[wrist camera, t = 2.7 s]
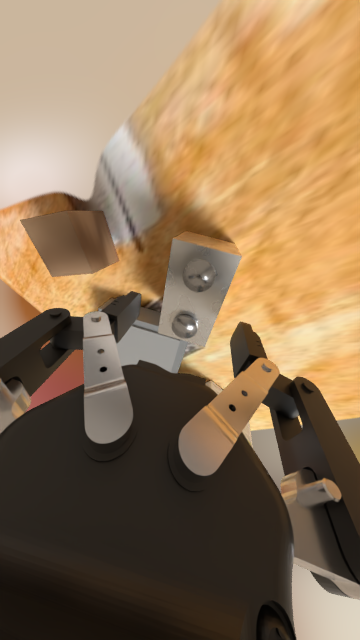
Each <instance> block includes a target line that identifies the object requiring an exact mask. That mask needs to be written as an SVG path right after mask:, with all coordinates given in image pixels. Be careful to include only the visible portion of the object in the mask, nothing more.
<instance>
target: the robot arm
mask: <svg viewBox="0 0 360 640" xmlns="http://www.w3.org/2000/svg"><path fill="white" fill-rule="evenodd" d="M140 306H141V294H140V293H136V292H133V291H131V292H130V293H128V294H127V295H126V296H124V295H123V296H120V297H117V298H116V299H115V300H114V301H113V302H111V304H109V305H108V306H106V307H105V308H104V309H103V310H102V311H100V312H99V311H95V312H90V313H87V314H86V315H85V316H84V317H73V316H70V312H69V311H68V310H67V309H63V308H53V309H49V310H46V311H44V312H43V313H41V314H40V315H38V316H36V317H35V318H33V319H32V320H30V321H28V322H27V323H25V324H23V325H22V326H20V327H18V328H17V329H15V330H13V331H12V332H10V333H9V334H7V335H5V336H4V337H2V338H0V640H296V634H295V628H294V622H293V609H292V584H291V583H292V567H293V564H296V565H298V566H300V567H303V568H305V569H307V570H310V572H311V573H312V575H313V577H314V578H315V579H316V581H317V582H318V583H319V584H320V585H321V586H322V587H323V588H324V589H325V590H326V591H328V592H329V593H332V594H336V595H340V596H345V597H349V598H354V599H358V600H360V464H359V462H358V460H357V458H356V456H355V454H354V453H353V451H352V449H351V447H350V445H349V444H348V442H347V440H346V439H345V436H344V434H343V432H342V431H341V429H340V427H339V425H338V423H337V421H336V420H335V418H334V416H333V414H332V412H331V410H330V409H329V407H328V405H327V403H326V401H325V399H324V398H323V396H322V394H321V392H320V390H319V389H318V388H317V387H316V386H315V385H314V384H313V383H312V382H310V381H309V380H307V379H305V378H303V377H296V378H295V379H294V380H293V381H292V380H290V379H288V378H287V377H285V376H283V375H281V374H279V373H280V372H279V369H278V367H277V366H276V365H275V364H274V363H273V362H271V361H270V360H268V359H267V356H266V353H265V351H264V348H263V345H262V343H261V340H260V337H259V336H258V335H257V334H256V333H255V332H253V330H252V327H251V325H250V324H247V323H243V322H240V323H239V324H238V326H237V328H236V330H235V331H234V333H233V335H232V337H231V341H230V347H231V355H232V364H233V372H234V378H235V379H234V380H233V381H232V382H231V383H230V384H229V385H228V386H227V387H226V388H225V389H224V390H223V391H222V392H221V393H220V394H219V395H218V394H217V393H216V392H215V391H214V390H212V389H211V388H210V387H208V386H207V385H205V381H206V379H204V378H201V377H197V376H194V375H191V374H180V373H171V372H169V371H167V370H165V369H163V368H161V367H160V366H158V365H156V364H153V363H150V362H146V361H143V360H139V361H138V363H137V364H130V365H124V366H121V363H120V359H119V355H118V350H117V346H116V343H119V341H120V340H121V339H122V337H123V336H124V335H125V334H126V332H127V331H128V330H129V328H130V327H131V326H132V324H133V323H134V322H135V321H136V319H137V318H138V316H139V314H140ZM49 340H50V343H49V344H48V345H46V346H45V347H44V348H43V349H42V350H40V349H41V347H42V346H43V345H44V344H45V343H46V342H47V341H49ZM75 349H79V350H80V349H81V350H83V359H84V384H82V385H80V386H78V387H76V388H74V389H72V390H70V391H68V392H66V393H64V394H62V395H60V396H58V397H56V398H54V399H52V400H49V401H48V402H45V403H43V404H41V405H39V406H37V407H35V408H33V409H31V410H29V411H27V412H26V410H27V409H28V408H29V406H30V403H31V398H30V397H31V396H32V394H33V393H34V392H35V391H36V390H37V389H38V388H39V387H40V386H41V385H42V384H43V383H44V382H45V381H46V379H48V378H49V376H50V375H51V374H52V373H53V372H54V371H55V370H56V369H57V368H58V367H59V366H60V365H61V364H62V363H63V362H64V361H65V360H66V359H67V358H68V356H69V355H70V354H71V353H72V352H73V351H74V350H75ZM261 403H263V404H265V405H266V406H268V407H269V408H270V413H271V417H272V421H273V426H274V430H275V435H276V439H277V443H278V448H279V452H280V456H281V461H282V465H283V470H284V474H285V476H284V477H283V478H282V480H281V493H280V491H279V489H278V488H277V486H276V484H275V483H274V481H273V480H272V478H271V476H270V475H269V473H268V472H267V470H266V469H265V467H264V466H263V464H262V462H261V461H260V459H259V458H258V456H257V455H256V453H255V451H254V450H253V448H252V447H251V445H250V443H249V442H248V440H247V439H246V437H245V436H244V434H243V432H242V430H243V429H244V428H245V426H246V425H247V423H248V422H249V420H250V419H251V417H252V416H253V414H254V413H255V411H256V410H257V408H258V407H259V406H260V404H261ZM299 415H300V418H301V421H302V424H303V428H301V425H300V422H299V420H298V417H297V416H299Z"/></svg>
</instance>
